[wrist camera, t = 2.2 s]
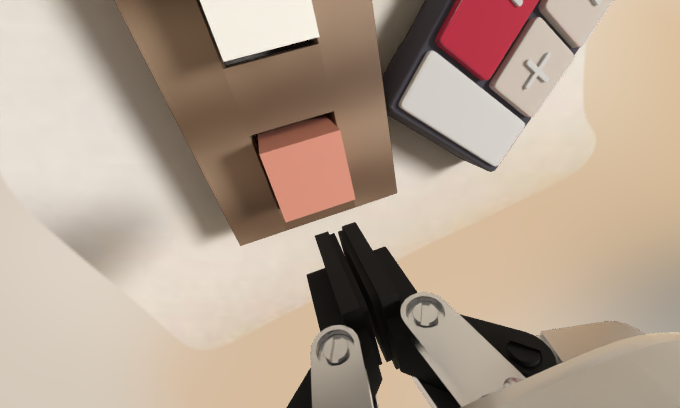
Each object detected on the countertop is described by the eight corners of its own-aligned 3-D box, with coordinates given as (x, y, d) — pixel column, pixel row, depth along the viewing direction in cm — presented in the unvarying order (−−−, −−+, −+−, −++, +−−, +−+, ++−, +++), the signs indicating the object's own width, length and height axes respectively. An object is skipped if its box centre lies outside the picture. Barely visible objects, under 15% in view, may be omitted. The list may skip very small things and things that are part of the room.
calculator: (643, -27, 19) (500, 177, 23) (577, -13, 23) (464, 161, 26) (553, -182, 14) (392, 111, 18) (488, -131, 18) (366, 102, 22)
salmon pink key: (257, 134, 19) (259, 154, 15) (324, 114, 19) (340, 129, 16) (279, 193, 21) (285, 222, 18) (339, 174, 22) (355, 199, 18)
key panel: (94, -79, 14) (59, -106, 11) (334, -126, 15) (351, -159, 13) (241, 223, 23) (240, 245, 21) (382, 177, 25) (397, 193, 22)
